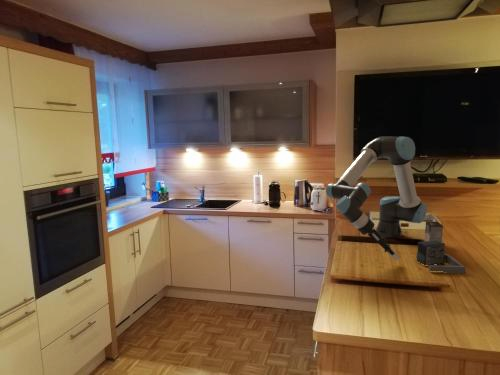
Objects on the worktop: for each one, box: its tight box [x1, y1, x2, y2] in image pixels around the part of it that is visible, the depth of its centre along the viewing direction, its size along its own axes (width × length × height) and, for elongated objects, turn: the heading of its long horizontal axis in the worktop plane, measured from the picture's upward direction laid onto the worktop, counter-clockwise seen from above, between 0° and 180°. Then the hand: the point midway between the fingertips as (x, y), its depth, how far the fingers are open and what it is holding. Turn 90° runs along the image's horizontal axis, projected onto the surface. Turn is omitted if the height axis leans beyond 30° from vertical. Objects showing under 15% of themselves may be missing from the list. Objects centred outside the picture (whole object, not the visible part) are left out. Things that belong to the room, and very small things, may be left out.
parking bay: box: [415, 253, 466, 275], centre depth 178 cm, size 18×15×3 cm
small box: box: [416, 240, 446, 265], centre depth 181 cm, size 11×6×10 cm, turn 104°
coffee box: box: [424, 221, 444, 243], centre depth 194 cm, size 9×6×16 cm
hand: (397, 258), depth 179 cm, fingers closed
